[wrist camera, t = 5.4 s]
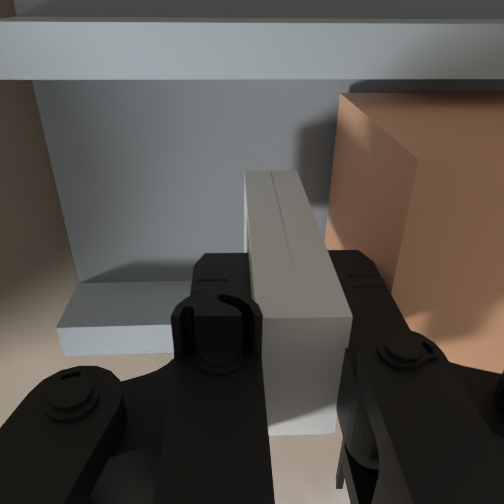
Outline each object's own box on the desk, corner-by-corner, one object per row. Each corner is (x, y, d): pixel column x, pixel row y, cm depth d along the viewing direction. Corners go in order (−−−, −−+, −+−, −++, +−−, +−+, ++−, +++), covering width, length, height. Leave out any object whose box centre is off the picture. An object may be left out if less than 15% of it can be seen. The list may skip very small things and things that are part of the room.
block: (321, 267, 16) (369, 399, 11) (340, 92, 13) (418, 159, 8) (484, 263, 16) (607, 390, 11) (539, 92, 13) (744, 155, 8)
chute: (94, 306, 18) (67, 369, 15) (25, -10, 12) (-39, -11, 9) (477, 295, 19) (526, 353, 16) (576, -5, 13) (681, -5, 10)
